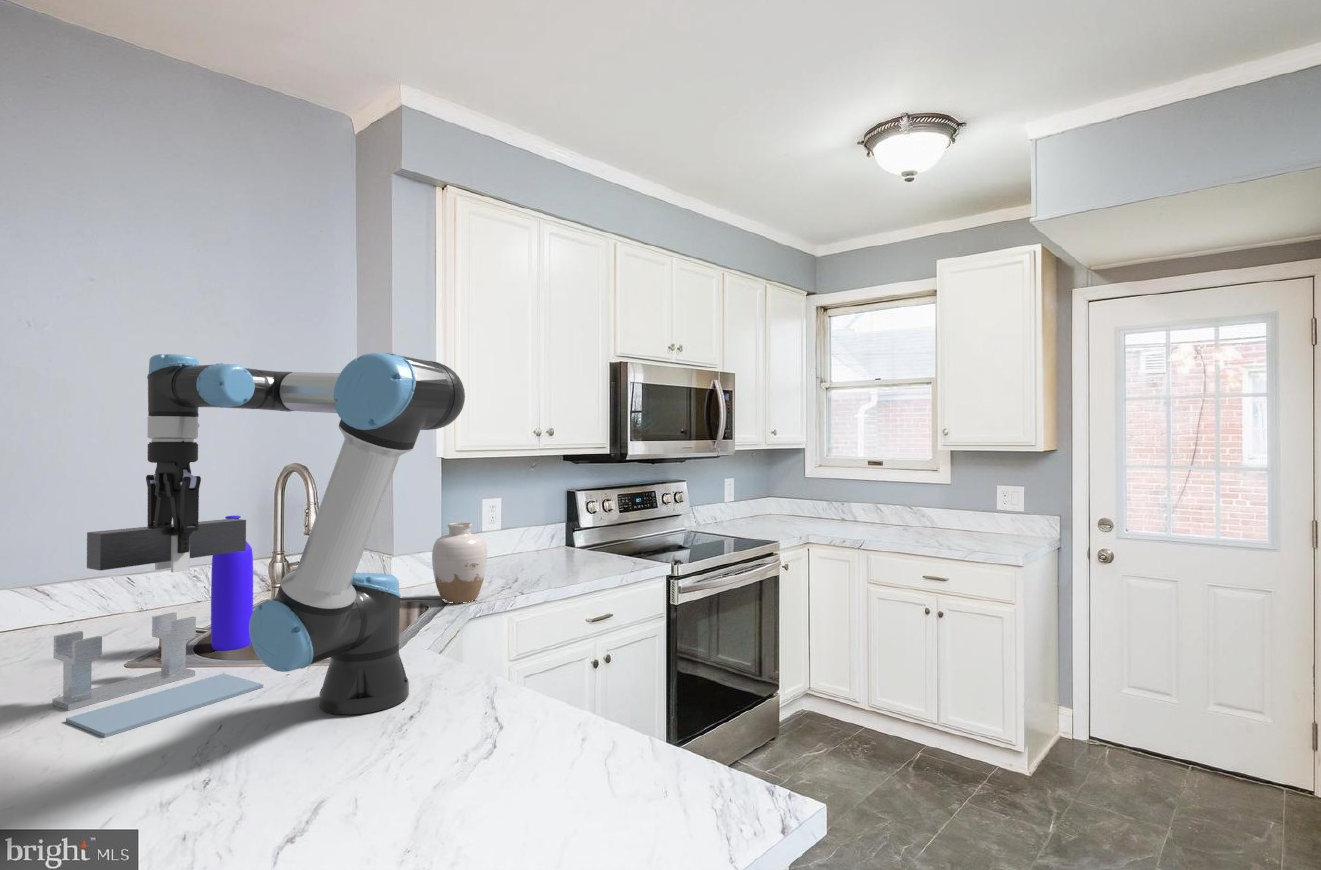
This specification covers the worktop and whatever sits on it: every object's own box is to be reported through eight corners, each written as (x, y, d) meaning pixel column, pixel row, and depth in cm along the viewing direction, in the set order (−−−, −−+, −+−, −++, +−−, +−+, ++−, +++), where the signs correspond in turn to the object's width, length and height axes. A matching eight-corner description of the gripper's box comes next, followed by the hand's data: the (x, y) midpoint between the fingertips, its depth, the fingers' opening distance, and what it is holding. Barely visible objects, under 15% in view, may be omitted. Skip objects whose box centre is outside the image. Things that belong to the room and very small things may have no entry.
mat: (263, 687, 135) (263, 684, 135) (104, 737, 112) (104, 733, 112) (223, 676, 141) (223, 673, 141) (65, 721, 118) (65, 718, 118)
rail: (232, 548, 138) (232, 518, 138) (245, 550, 136) (246, 519, 136) (86, 568, 117) (87, 532, 117) (100, 570, 115) (100, 533, 115)
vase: (457, 609, 198) (458, 528, 198) (420, 602, 206) (420, 524, 206) (498, 598, 211) (498, 522, 211) (461, 592, 220) (461, 519, 220)
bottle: (233, 652, 157) (234, 518, 157) (201, 650, 158) (202, 517, 159) (261, 642, 165) (262, 514, 165) (230, 640, 166) (232, 513, 167)
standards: (197, 676, 141) (198, 616, 141) (71, 711, 122) (71, 642, 122) (175, 670, 144) (176, 611, 145) (49, 703, 126) (50, 636, 126)
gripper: (222, 440, 126) (221, 570, 126) (169, 440, 134) (168, 562, 134) (177, 440, 119) (176, 577, 119) (124, 440, 128) (123, 568, 127)
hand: (172, 569), depth 127 cm, fingers closed on rail, 4 cm apart
